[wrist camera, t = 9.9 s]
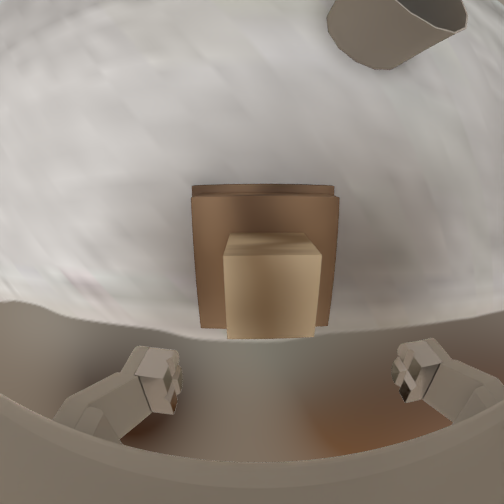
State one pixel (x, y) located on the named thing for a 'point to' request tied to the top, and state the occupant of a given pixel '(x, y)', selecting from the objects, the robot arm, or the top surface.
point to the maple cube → (271, 285)
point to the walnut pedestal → (259, 221)
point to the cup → (392, 28)
